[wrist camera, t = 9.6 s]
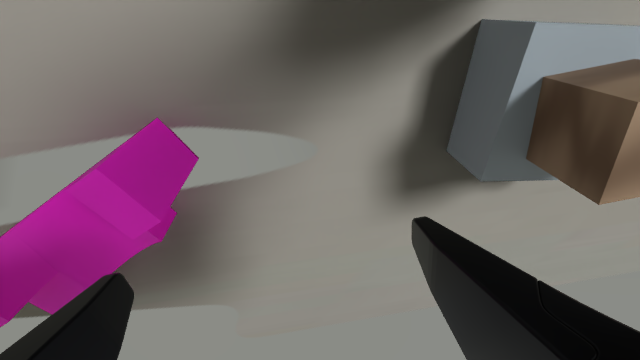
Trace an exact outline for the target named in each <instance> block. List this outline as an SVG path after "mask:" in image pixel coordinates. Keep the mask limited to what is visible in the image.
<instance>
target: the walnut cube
mask: <svg viewBox="0 0 640 360" xmlns="http://www.w3.org/2000/svg"><path fill="white" fill-rule="evenodd" d="M526 159H527V160H528V161H530V162H532V163H533V164H535V165H536V166H538V167H539V168H541V169H543V170H544V171H546V172H547V173H549V174H551V175H552V176H554V177H555V178H557V179H559V180H560V181H562V182H563V183H565V184H566V185H568V186H570V187H571V188H573V189H574V190H576V191H578V192H579V193H581V194H582V195H584V196H586V197H587V198H589V199H590V200H592V201H593V202H595V203H597V204H598V205H600V204H605V203H610V202H616V201H621V200H626V199H631V198H636V197H640V60H639V59H631V60H626V61H621V62H616V63H611V64H606V65H601V66H596V67H591V68H585V69H580V70H575V71H570V72H565V73H560V74H555V75H550V76H545V77H543V80H542V85H541V90H540V94H539V99H538V104H537V109H536V113H535V118H534V123H533V128H532V132H531V137H530V142H529V147H528V151H527V156H526Z"/></svg>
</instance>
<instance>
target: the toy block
mask: <svg viewBox="0 0 640 360" xmlns="http://www.w3.org/2000/svg"><path fill="white" fill-rule="evenodd" d="M198 159H199V157H198V156H197V155H195V153H194V152H193V151H192V150H191V149H190V148H189V147H188V146H187V145H186V144H185V143H184V142H183V141H182V140H181V139H180V138H179V137H178V136H177V135H176V134H175V133H174V132H173V131H172V130H171V129H168V128H167V127H166V126H165V125H164V124H163V123H162V122H161V121H160V120H159V119H158V118H156V119H155V120H153V121H152V122H151V123H149V124H148V125H147V126H146V127H144V128H143V129H142V130H140V131H139V132H138V133H136V134H135V135H134V136H132V137H131V138H130V139H128V140H127V141H126V142H125V143H123V144H122V145H120V146H119V147H118V148H116V149H115V150H114V151H112V152H111V153H110V154H108V155H107V156H106V157H104V158H103V159H102V160H101V161H99V162H98V163H97V164H95V165H94V166H93V167H92V168H90V169H89V170H87V171H86V172H85V173H83V174H82V175H81V176H80V177H78V178H77V179H75V180H74V181H73V182H72V183H70V184H69V185H68V186H66V187H65V188H64V189H62V190H61V191H60V192H58V193H57V194H56V195H54V196H53V197H52V198H50V199H49V200H48V201H46V202H45V203H44V204H42V205H41V206H40V207H39V208H37V209H36V210H35V211H33V212H32V213H31V214H29V215H28V216H27V217H25V218H24V219H23V220H21V221H20V222H19V223H17V224H16V225H15V226H14V227H12V228H11V229H10V230H8V231H7V232H6V233H5V234H3V235H2V236H1V237H0V327H1V326H3V325H4V324H6V323H8V322H9V321H10V320H11V319H12V318H13V317H14V316H15V315H16V314H17V313H18V312H19V311H20V310H21V309H22V308H23V307H24V306H25V304H26V303H27V302H29V303H31V304H33V305H35V306H37V307H39V308H41V309H42V310H44V311H46V312H48V313H50V314H54V313H55V312H56V311H58V310H59V309H60V308H62V307H63V306H64V305H66V304H67V303H68V302H70V301H71V300H72V299H74V298H75V297H76V296H78V295H79V294H80V293H81V292H83V291H84V290H85V289H87V288H88V287H89V286H91V285H92V284H93V283H95V282H96V281H97V280H99V279H100V278H101V277H103V276H105V275H108V274H111V273H113V272H114V271H115V270H116V269H117V268H118V267H120V266H121V265H122V264H123V263H125V262H126V261H127V260H129V259H130V258H131V257H133V256H134V255H135V254H137V253H138V252H140V251H141V250H143V249H145V248H147V247H148V246H150V245H152V244H155V243H158V242H162V240H163V238H164V236H165V234H166V232H167V231H168V229H169V227H170V225H171V223H172V221H173V220H174V218H175V216H176V214H177V213H176V212H175V211H174V210H173V209H172V208H170V206H171V204H172V203H173V201H174V199H175V198H176V196H177V194H178V193H179V191H180V189H181V187H182V186H183V184H184V182H185V181H186V179H187V177H188V176H189V174H190V172H191V171H192V169H193V167H194V166H195V164H196V162H197V161H198Z"/></svg>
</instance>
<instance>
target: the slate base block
mask: <svg viewBox="0 0 640 360" xmlns="http://www.w3.org/2000/svg"><path fill="white" fill-rule="evenodd" d="M631 59H639V60H640V26H634V25H613V24H588V23H562V22H537V21H511V20H485V19H482V20H481V24H480V28H479V31H478V35H477V39H476V43H475V46H474V50H473V54H472V57H471V61H470V65H469V69H468V72H467V76H466V80H465V84H464V87H463V91H462V95H461V98H460V102H459V106H458V110H457V113H456V117H455V121H454V125H453V128H452V132H451V136H450V139H449V143H448V147H447V152H448V153H449V154H450V155H451V156H453V157H454V158H455V159H456V160H457V161H458V162H459V163H460V164H462V165H463V166H464V167H465V168H466V169H467V170H468V171H469V172H471V173H472V174H473V175H474V176H475V177H476V178H477V179H478V180H479V181H528V180H559V179H557V178H555V177H554V176H552V175H551V174H549V173H547V172H546V171H544V170H543V169H541V168H539V167H538V166H536V165H535V164H533V163H532V162H530V161H528V160H527V159H526V156H527V151H528V147H529V142H530V137H531V132H532V128H533V123H534V118H535V113H536V109H537V104H538V99H539V94H540V90H541V85H542V80H543V77H545V76H550V75H555V74H560V73H565V72H570V71H575V70H580V69H585V68H591V67H596V66H601V65H606V64H611V63H616V62H621V61H626V60H631Z"/></svg>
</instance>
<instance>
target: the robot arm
mask: <svg viewBox="0 0 640 360" xmlns="http://www.w3.org/2000/svg"><path fill="white" fill-rule="evenodd" d="M412 244H413V247H414V250H415V252H416V255H417V257H418V260H419V263H420V265H421V268H422V270H423V273H424V275H425V278H426V281H427V283H428V286H429V288H430V290H431V292H432V294H433V296H434V298H435V300H436V302H437V304H438V306H439V308H440V310H441V312H442V314H443V316H444V317H445V319H446V321H447V323H448V325H449V327H450V329H451V331H452V333H453V335H454V336H455V338H456V340H457V342H458V344H459V346H460V348H461V350H462V352H463V354H464V355H465V357H466V359H467V360H640V332H639V331H637V330H635V329H633V328H631V327H629V326H627V325H625V324H623V323H621V322H619V321H616V320H614V319H612V318H610V317H608V316H606V315H604V314H602V313H600V312H598V311H596V310H594V309H592V308H590V307H588V306H586V305H584V304H582V303H580V302H578V301H577V300H575V299H573V298H571V297H569V296H567V295H565V294H564V293H562V292H560V291H558V290H556V289H554V288H553V287H551V286H549V285H547V284H546V283H544V282H542V281H537V279H536V278H535V277H533V276H531V275H529V274H528V273H526V272H524V271H522V270H520V269H519V268H517V267H515V266H513V265H512V264H510V263H508V262H506V261H505V260H503V259H501V258H499V257H497V256H496V255H494V254H492V253H490V252H489V251H487V250H485V249H483V248H481V247H480V246H478V245H476V244H474V243H473V242H471V241H469V240H467V239H465V238H464V237H462V236H460V235H458V234H457V233H455V232H453V231H451V230H449V229H448V228H446V227H444V226H442V225H441V224H439V223H437V222H435V221H433V220H432V219H430V218H428V217H419V218H414V219H413V220H412ZM133 300H134V292H133V289H132V288H131V286H130V285H129V284H128V282H127V281H126V279H125V278H124V276H123V275H122V274H120V273H113V274H108V275H105V276H103V277H101V278H100V279H99V280H97V281H96V282H95V283H93V284H92V285H91V286H89V287H88V288H87V289H85V290H84V291H83V292H81V293H80V294H79V295H78V296H76V297H75V298H74V299H72V300H71V301H70V302H68V303H67V304H66V305H64V306H63V307H62V308H60V309H59V310H58V311H56V312H55V313H54V314H52V315H51V316H50V317H48V318H47V319H46V320H45V321H43V322H42V323H41V324H39V325H38V326H37V327H35V328H34V329H33V330H31V331H30V332H29V333H27V334H26V335H25V336H23V337H22V338H21V339H19V340H18V341H17V342H15V343H14V344H13V345H12V346H11V347H9V348H8V349H6V350H5V351H4V352H2V353H1V354H0V360H117V358H118V355H119V352H120V349H121V346H122V342H123V339H124V335H125V331H126V327H127V322H128V319H129V315H130V311H131V307H132V304H133Z"/></svg>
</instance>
